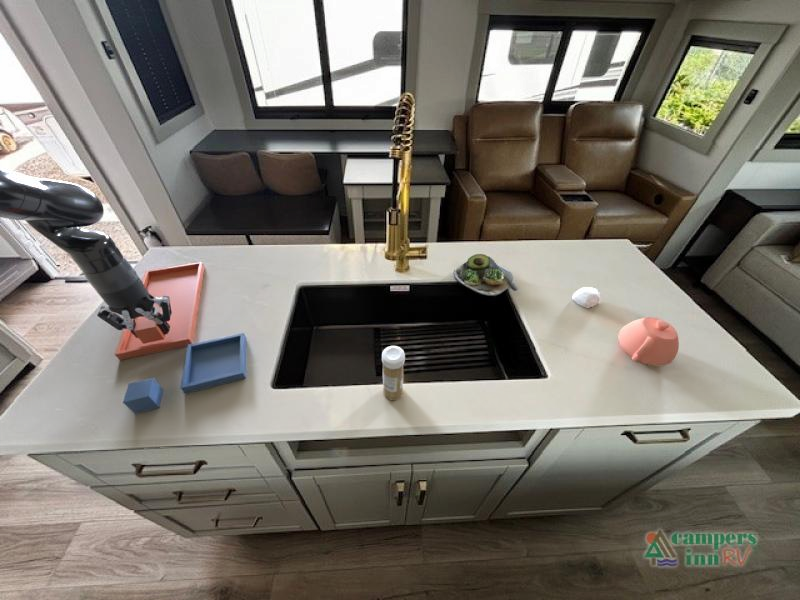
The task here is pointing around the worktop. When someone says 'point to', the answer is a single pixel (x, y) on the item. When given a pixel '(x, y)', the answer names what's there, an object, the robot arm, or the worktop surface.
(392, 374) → the sprinkles bottle
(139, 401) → the slate-blue block
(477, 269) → the avocado toast plate
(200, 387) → the slate-blue tray
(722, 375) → the worktop surface
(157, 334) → the terracotta block
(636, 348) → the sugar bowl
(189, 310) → the terracotta tray
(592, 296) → the garlic
